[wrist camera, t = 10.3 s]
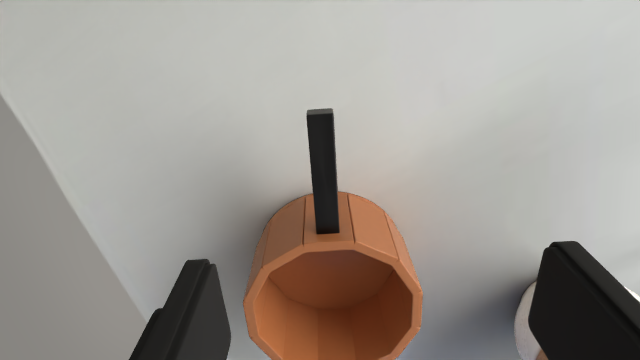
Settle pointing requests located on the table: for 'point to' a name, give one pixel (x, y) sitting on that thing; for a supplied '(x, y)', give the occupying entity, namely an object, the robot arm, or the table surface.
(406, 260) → the copper saucepan
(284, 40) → the table surface
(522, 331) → the trinket box
